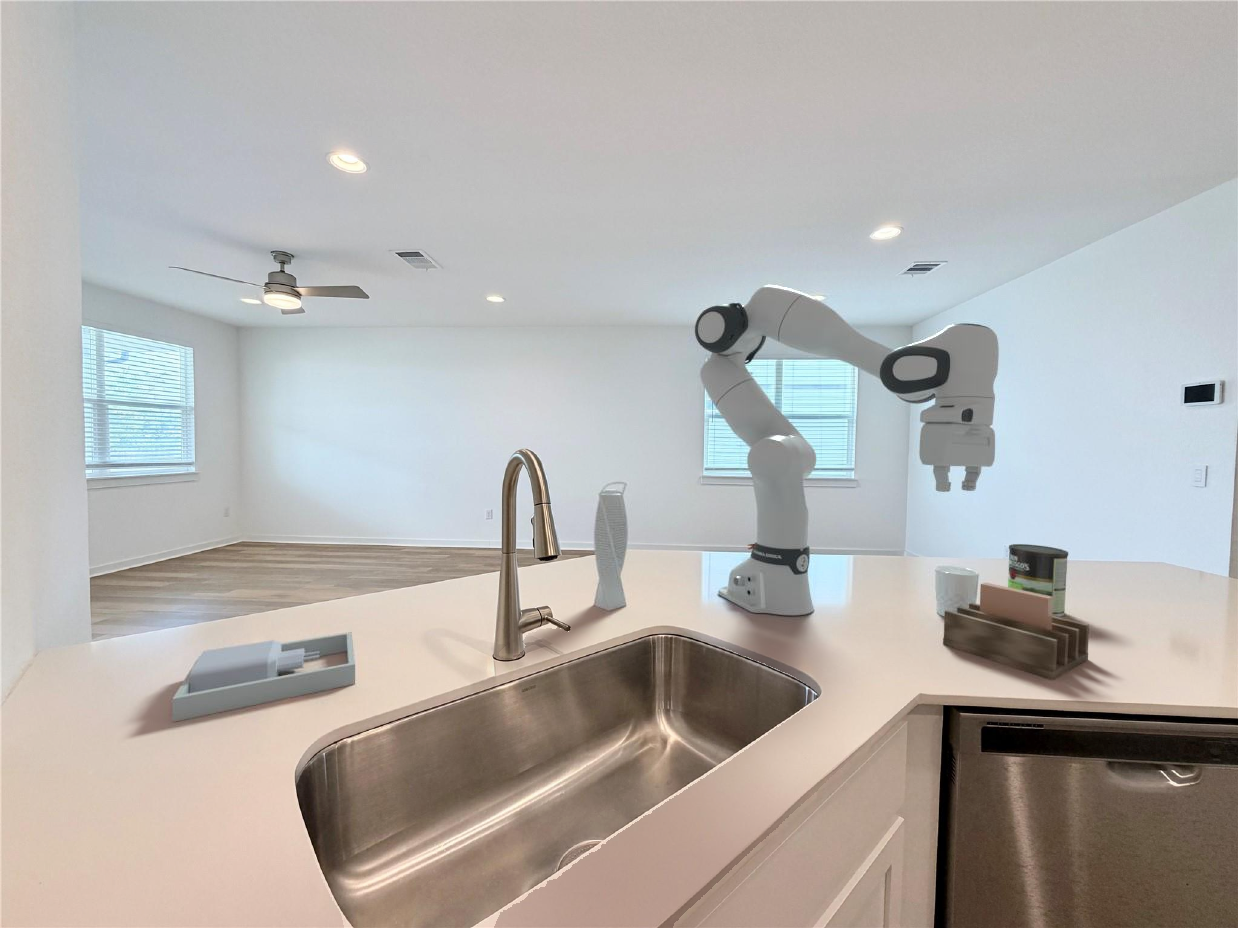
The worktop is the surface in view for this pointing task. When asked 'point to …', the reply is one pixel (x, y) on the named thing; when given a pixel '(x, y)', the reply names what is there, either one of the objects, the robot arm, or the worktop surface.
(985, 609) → the tan wooden panel
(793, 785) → the worktop surface
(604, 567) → the skyscraper
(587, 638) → the worktop surface
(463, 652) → the worktop surface
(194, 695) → the tray
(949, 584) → the white cup
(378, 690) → the worktop surface
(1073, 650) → the dish rack
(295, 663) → the charger
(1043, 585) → the coffee can
